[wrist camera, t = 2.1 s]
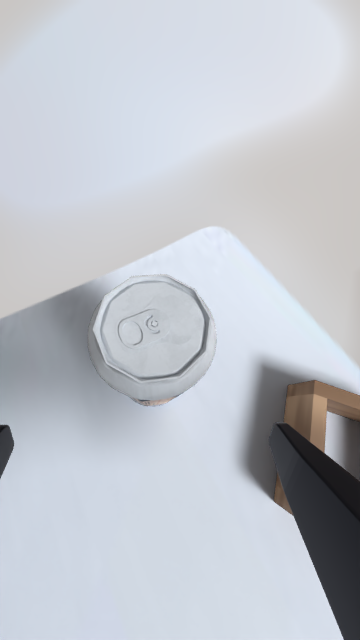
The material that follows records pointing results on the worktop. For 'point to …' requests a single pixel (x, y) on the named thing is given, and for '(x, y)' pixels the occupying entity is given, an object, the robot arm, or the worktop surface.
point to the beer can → (152, 338)
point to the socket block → (314, 416)
